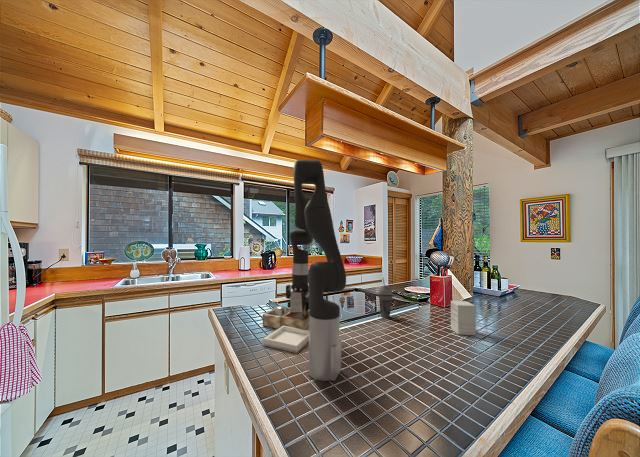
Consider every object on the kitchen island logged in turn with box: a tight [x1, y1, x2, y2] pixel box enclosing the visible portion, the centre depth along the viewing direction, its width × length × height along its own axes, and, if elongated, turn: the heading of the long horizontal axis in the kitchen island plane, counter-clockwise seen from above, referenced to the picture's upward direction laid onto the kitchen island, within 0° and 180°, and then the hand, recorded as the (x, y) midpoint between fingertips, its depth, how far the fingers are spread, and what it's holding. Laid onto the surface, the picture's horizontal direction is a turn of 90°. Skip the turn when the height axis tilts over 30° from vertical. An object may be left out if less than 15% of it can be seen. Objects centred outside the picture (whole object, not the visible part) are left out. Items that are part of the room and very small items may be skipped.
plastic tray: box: [262, 326, 309, 354], centre depth 93 cm, size 14×14×2 cm
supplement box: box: [450, 300, 477, 336], centre depth 107 cm, size 7×7×13 cm
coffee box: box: [289, 290, 309, 320], centre depth 110 cm, size 9×6×16 cm
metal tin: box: [274, 305, 287, 316], centre depth 114 cm, size 5×5×7 cm
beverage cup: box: [377, 277, 393, 319], centre depth 124 cm, size 7×7×20 cm
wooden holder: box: [262, 306, 310, 330], centre depth 112 cm, size 21×14×5 cm, turn 67°
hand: (299, 309), depth 110 cm, fingers closed on coffee box, 7 cm apart
